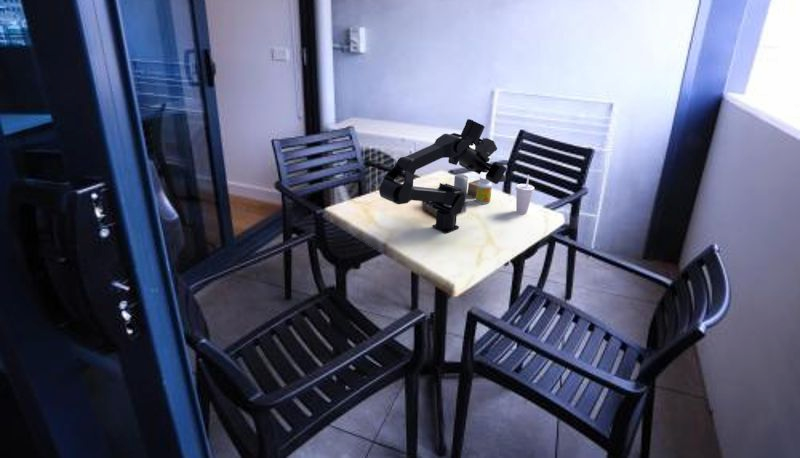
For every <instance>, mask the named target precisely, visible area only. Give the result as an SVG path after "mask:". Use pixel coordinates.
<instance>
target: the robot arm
mask: <svg viewBox="0 0 800 458" xmlns="http://www.w3.org/2000/svg"><path fill="white" fill-rule="evenodd" d="M485 128H486V126H484V125H483V124H481V123H479V122H476V121H474V120H473V119H471V118H470V119H469V118H467V120H466V121H465V124H464V127H463V129H462V131H461V132H460V133H456V132H453V133H450V134H449V133H443V134H441V135H440V136H438V137H437V138H436V139H435V141H434V143H432V144H430V145H429V146H426V147H423V148H422V149H420V150H417V151H414V152H412V153H410V154H408V155H406V156H402V157H398V160H397V161H396V163H395V165H394V166H393V167H391V169H390V170H389V171H387V172H386V174H385V176H384V177H383V179H382V181H381V184H380V185H379V188H378V189H379V190H378V191H379V193H378V194H379V195H380V198H382V199H385V200H387V201H389V202H392V203H394V204H396V205H405V204H408V203H409V202H411V201H418V202H428V203H429V202H431V208H432V209H434V210H436V215H435V216H436V218H435V224H433V225H431V226H432V227H431V228H434V229H436V230H438V231H440V232H443V233H445V234H448V233H451V232H453V231H455V230H458V229H459V227H460V226H458V225H457V215H459V214H461V213H462V211H463V207H464V204H465V200H466V198H465V196H464V192H463V191H461V190H462V189H460V188H458V187H455V186H454V185H451V184H450V183H447V182H446V183H439V186H438V187H437V188H433V187H424V186H414V179H415V178H414V176H415V173H416V171H417V170H420V169H422V168H424V167H426V166H428V165H430V164H432V163H434V162H436V161H439V160H440V159H443V158H445V159H446V158H448V164H451V165H455V166H457V165H459V166H461V167H462V168H464V169H466V170H468V171H470V172H471V171H472V172H473V173H476V174H478V175H481V174H482V173H486V174H485V176H486V179H487V180H489V181H490V183H491V184H495V185H498V184H499V183H504V182H506V180H507V178H506V176H505V173H506V171H507V170H508V169H507V166H505V165H504V164H501V163H499V162H497V161H495V162H493V163H492V164H491V163H489V162H490V160H491V158H490V157H491V156H492V155H493V153H495V152H496V151H497V150H498V146H497V145H496V143H495V141H494V139H493V140H492V139H490V138H487V137H483V138H481V137H482V135H483V132H484V131H485ZM470 146H471V147H470ZM472 146H474V148H472ZM403 172H404V180H403V183H401V182H398V181H396V180H395V179H396V178H398V177H399V176H400V175H401V174H402V173H403Z"/></svg>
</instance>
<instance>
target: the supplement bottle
mask: <svg viewBox="0 0 800 458" xmlns="http://www.w3.org/2000/svg"><path fill="white" fill-rule="evenodd" d="M479 180H480V182H478V184H477V193H476V198H475V202H476V203H477V204H481V205H487V204H488V205H489V204H490V202H491V198H492V189H493V183H492V182H491V181H489V180H487V179H486V175H480V176H479Z"/></svg>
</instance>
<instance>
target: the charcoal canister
mask: <svg viewBox="0 0 800 458" xmlns="http://www.w3.org/2000/svg"><path fill="white" fill-rule="evenodd" d="M453 179H454V181H453V186H455V187H458V188H460V189H462V190H461V191H463V192H464V196H465V199H466V198H467V195H468V183H469V177H468V176H467V175H464V174H456V175H454V178H453Z"/></svg>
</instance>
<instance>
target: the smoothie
mask: <svg viewBox="0 0 800 458" xmlns="http://www.w3.org/2000/svg"><path fill="white" fill-rule="evenodd" d="M529 181H530V174H527V177H526V183H520V184H519V183H518V184H517V185H516V186H515V190H516V196H515V197H516V198H515V199H516V201H515V202H516V203H515V204H516V206H515V207H516V208H515V209H516V210H515V211H516V213H517V214H519V215H526V214H528V211H529V207H530V203H531V201H532V196H533V193H534V192H535V186H533V185H532V184H529Z"/></svg>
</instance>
